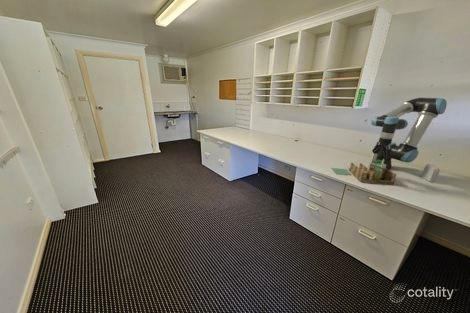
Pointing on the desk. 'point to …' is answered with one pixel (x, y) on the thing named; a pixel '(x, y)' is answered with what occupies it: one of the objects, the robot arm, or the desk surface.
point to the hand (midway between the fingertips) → (377, 164)
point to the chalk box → (377, 170)
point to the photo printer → (430, 173)
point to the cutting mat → (341, 171)
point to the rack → (358, 174)
